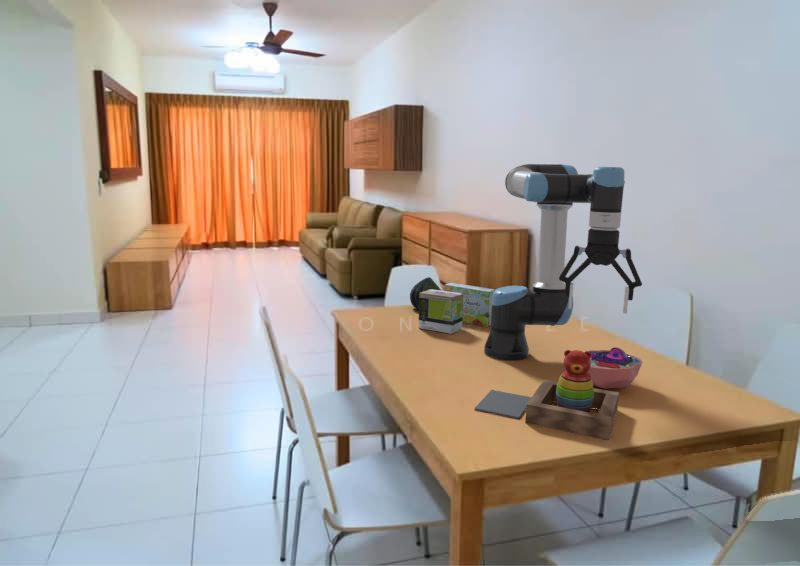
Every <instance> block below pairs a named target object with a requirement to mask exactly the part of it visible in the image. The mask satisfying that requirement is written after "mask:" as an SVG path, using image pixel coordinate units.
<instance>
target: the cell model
mask: <svg viewBox="0 0 800 566" xmlns="http://www.w3.org/2000/svg"><path fill="white" fill-rule="evenodd" d="M585 352H590V354H591V357H590V361H591V366H590V369H589V371H588V373H589V374H590V375H591V379H592V382H593V387H597V388H599V389H602V390H610V389H622V388H626V387H628V386H629V385H631V384H632V383H633V382H634V381H635V379H636V378H637V376H638V375H639V373H640V370H641V367H642V365H643V360H642V359H641V358H639V357H636V356H635V355H631V354H627V353H626V351H624V350H623V349H621V348H620V347H617V346H616V347H611V349H610V350H608V349H606V350H605V349H600V350H599V349H598V350H586V351H585Z"/></svg>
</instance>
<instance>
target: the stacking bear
mask: <svg viewBox="0 0 800 566" xmlns="http://www.w3.org/2000/svg"><path fill="white" fill-rule="evenodd" d="M563 354H564V358H563V366H564V369H565V370H564V371H562V373H561V374H560V376H559V377H558V381H557V382H558V384H557V388H556V397H557V402H556V403H557V405H556V406H558V407H563V408H568V409H574V410H579V411H584V412H589V413H592V411H591V409H590V408H591V405H592V402H593V397H594V385H593V382H592V379H591V375H590V374H589V373H588V371H589V369H590V366H591V361H590V357H591V354H590V352H586V351H582V350H570V349H566V350H565V351H564V352H563Z"/></svg>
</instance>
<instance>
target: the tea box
mask: <svg viewBox="0 0 800 566" xmlns="http://www.w3.org/2000/svg"><path fill="white" fill-rule="evenodd" d="M462 321H463V293H457V292H449V291H445V290H442V289H441V290H434V289H430V290H427V291H424V292H420V293H419V309H418V328H419V329H423V330H429V331H434V332H441V333H444V334H452V335H453V334H454V333H457V332H458V331H461V330H462V329H463V322H462Z"/></svg>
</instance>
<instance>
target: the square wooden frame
mask: <svg viewBox="0 0 800 566" xmlns="http://www.w3.org/2000/svg"><path fill="white" fill-rule="evenodd" d="M557 384H558V381H556V380H555V381H554V380H549V379H543V380H542V381H541V383H540V385H539V386H538V388H537V389H536V390H535V392H534V393H533V394H532V396H530V397H531V399H530V400H529V401H528V403H527V404H526V410H525V419H524V420H525V421H524V422H525V424H529V425H534V426H539V427H544V428H546V429H553V430H557V431H563V432H568V433H572V434H577V435H582V436H585V437H586V436H587V437H591V436H592V438H595V437H596V438H595V439H600V438H601V440H605V439H606V441H609V438H610V436H609V435H611V432H612V428H613V426H612V425H614V423H613V422H615V420H614V419H616V416H615V415H617V413H618V406H619V399H620V397H619V396H620V392H618V391H614V390H613V391H611V390H608V389H602V388H594V387H593V388H594V397H593V402H592V405H591V408H595V409H596V408H597V409H600V410H598V413H594V412H591V413H589V412H584V411H579V410H574V409H568V408H563V407H558V406H557V405H552V404H551V403H552V402H553V403H557V397H556V388H557ZM595 409H594V410H595ZM616 412H617V413H616Z"/></svg>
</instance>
